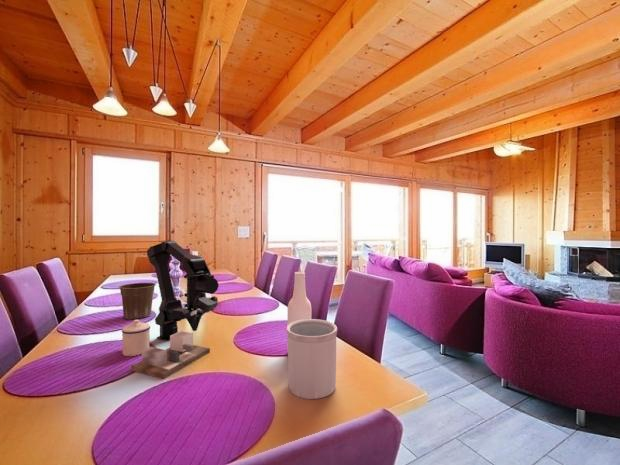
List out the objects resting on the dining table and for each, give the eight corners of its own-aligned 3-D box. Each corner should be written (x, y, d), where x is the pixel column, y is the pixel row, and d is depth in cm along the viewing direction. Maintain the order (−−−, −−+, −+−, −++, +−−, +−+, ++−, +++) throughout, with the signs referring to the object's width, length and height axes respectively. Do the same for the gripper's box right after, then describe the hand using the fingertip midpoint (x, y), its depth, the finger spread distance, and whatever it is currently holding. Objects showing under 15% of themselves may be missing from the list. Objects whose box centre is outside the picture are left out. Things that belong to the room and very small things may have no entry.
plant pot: (135, 311, 160) (135, 281, 159) (162, 312, 157) (162, 282, 157) (111, 320, 144) (111, 287, 143) (140, 322, 141) (140, 288, 141)
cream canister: (155, 349, 110) (155, 318, 110) (132, 358, 102) (132, 325, 101) (134, 343, 115) (134, 314, 115) (111, 352, 107) (111, 320, 106)
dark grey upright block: (169, 360, 96) (169, 351, 96) (172, 359, 98) (172, 350, 98) (175, 362, 95) (175, 353, 95) (179, 360, 96) (179, 351, 96)
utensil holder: (296, 406, 75) (297, 339, 75) (279, 379, 89) (280, 322, 89) (346, 394, 81) (346, 331, 81) (322, 370, 95) (323, 316, 95)
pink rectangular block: (170, 349, 105) (170, 335, 105) (180, 344, 110) (180, 331, 110) (191, 353, 102) (191, 339, 102) (201, 348, 106) (201, 334, 106)
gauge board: (131, 370, 93) (131, 353, 93) (180, 346, 113) (180, 332, 112) (163, 378, 88) (164, 360, 88) (209, 352, 108) (209, 337, 107)
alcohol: (299, 346, 113) (300, 270, 113) (316, 353, 107) (316, 272, 107) (282, 353, 107) (282, 272, 107) (298, 361, 101) (299, 275, 101)
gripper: (193, 297, 101) (193, 342, 101) (227, 287, 118) (227, 325, 118) (169, 294, 105) (169, 338, 105) (205, 285, 122) (205, 322, 122)
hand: (194, 330), depth 112 cm, fingers closed
